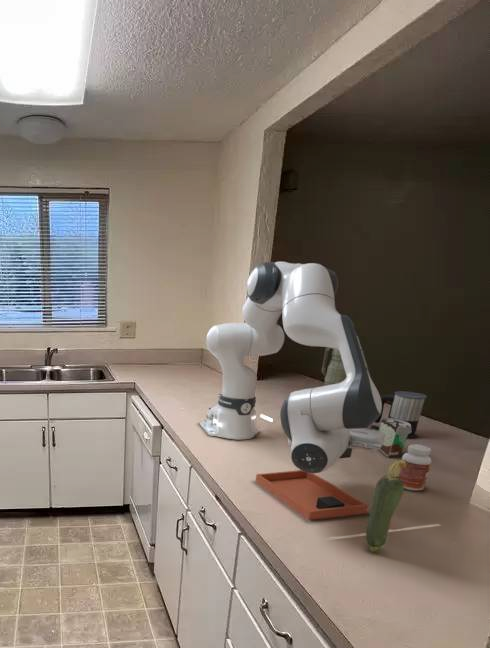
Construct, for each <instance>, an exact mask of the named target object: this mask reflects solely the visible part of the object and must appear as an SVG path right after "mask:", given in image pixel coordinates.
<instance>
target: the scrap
mask: <svg viewBox="0 0 490 648" xmlns="http://www.w3.org/2000/svg"><path fill="white" fill-rule="evenodd" d="M344 505H345V504H344V503H342V502H341V501H339V500H338V499H336V498H334V497H333V496H330V497H321V498H318V499H317V504H316V507H317V508H318V509H326V508H335V507H344Z"/></svg>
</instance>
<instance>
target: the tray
mask: <svg viewBox="0 0 490 648" xmlns="http://www.w3.org/2000/svg"><path fill="white" fill-rule="evenodd" d="M255 482H256V483H258V484H259V485H260V486H262V488H264V489H265V490H267V491H268V492H269V493H271V494H273V495H274V496H275V497H276V498H277V499H279V500H281V501H282V502H283V503H285V504H286V505H288V506H289V507H290V508H291V509H293V510H294V511H295V512H297V513H299V514H300V515H301V516H302V517H304V519H306V520H308V521H312V520H319V519H328V518H336V517H345V516H353V515H363V514H367V513H368V509H369V507H370V506H369V504H367V503H366V502H364V501H363V500H361V499H360V498H359V499H358V498H357V497H355V496H354V495H351V494H350V493H349V492H347V491H345V490H343V489H341V488H339V487H338V486H336V485H334V484H333V483H332V482H329V481H327V480H325V479H324V478H322V477H320V476H319V475H317V474H316V473H307V472H304V471H302V470H300V469H298V470H287V471H286V470H285V471H277V472H267V473H256V475H255ZM330 496H333V497H334V498H336V499H338V500H339V501H341V502H342V503H344V504H345V505H344V507H335V508H326V509H318V508H317V507H316V504H317V499H318V498H321V497H330Z"/></svg>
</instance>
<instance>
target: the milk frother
mask: <svg viewBox="0 0 490 648" xmlns="http://www.w3.org/2000/svg"><path fill="white" fill-rule="evenodd" d="M380 398H381V402H382V410H381V415H380V416H379V418H378V419H377V420H376V421H375V422H374V423H375V424H380V423H379V422H380V420H381V417H383V413H384V407H385V403H386V402H388V401H390V402H391V404H390V408H389V412H388V415H387V418H393V419H398V420H402V421H405V422H408V423H410V424H411V428H412V432H411V433H410V434H408V436H407V439H413V438H415V437H416V436H417V435H416V433H417V428H418V424H419V421H420V417H421V413H422V410H423V407H424V404H425V401H426V399H427V398H428V397H427V395H425V394H424V393H419V392H412V391H399V390H398V391H395V392H394V394H384V395H382V396H380ZM375 424H374V425H373V424H371V425H370V426H369V427H370V428H369V429H372V430H378V431H379V427H380V426H377V425H375Z"/></svg>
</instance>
